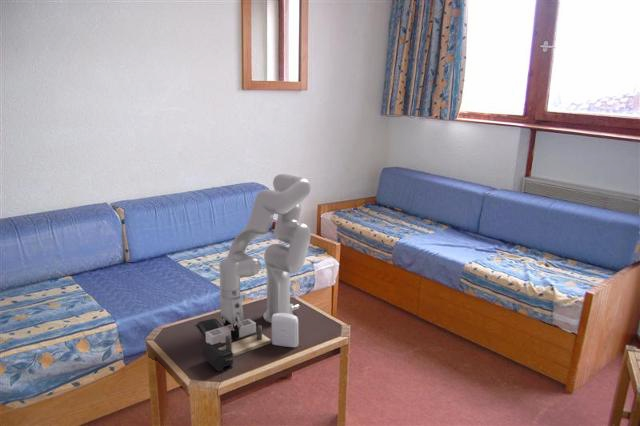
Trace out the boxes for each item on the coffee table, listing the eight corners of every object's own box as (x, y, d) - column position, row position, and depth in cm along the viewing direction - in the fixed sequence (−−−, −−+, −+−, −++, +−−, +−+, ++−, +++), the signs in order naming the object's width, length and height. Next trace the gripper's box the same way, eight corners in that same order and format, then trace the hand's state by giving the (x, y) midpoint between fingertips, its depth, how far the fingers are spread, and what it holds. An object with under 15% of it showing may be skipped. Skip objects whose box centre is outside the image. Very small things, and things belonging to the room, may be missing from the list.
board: (260, 335, 193) (260, 321, 192) (271, 342, 188) (271, 327, 187) (216, 351, 181) (216, 335, 180) (226, 359, 176) (225, 343, 175)
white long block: (249, 327, 200) (249, 317, 199) (256, 332, 196) (255, 321, 195) (205, 341, 188) (205, 330, 187) (212, 347, 184) (211, 336, 183)
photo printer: (269, 345, 186) (269, 314, 183) (273, 339, 190) (273, 309, 187) (296, 349, 184) (296, 318, 181) (299, 343, 188) (300, 313, 185)
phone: (215, 318, 206) (228, 333, 193) (215, 320, 206) (228, 336, 193) (196, 322, 202) (208, 338, 189) (196, 324, 202) (208, 340, 189)
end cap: (201, 362, 174) (200, 345, 172) (219, 356, 178) (219, 339, 177) (215, 375, 166) (214, 357, 165) (233, 368, 171) (233, 350, 169)
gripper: (251, 296, 183) (251, 341, 188) (227, 282, 196) (229, 325, 200) (232, 301, 179) (234, 347, 183) (210, 287, 191) (212, 330, 196)
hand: (231, 335), depth 192 cm, fingers closed on white long block, 5 cm apart
